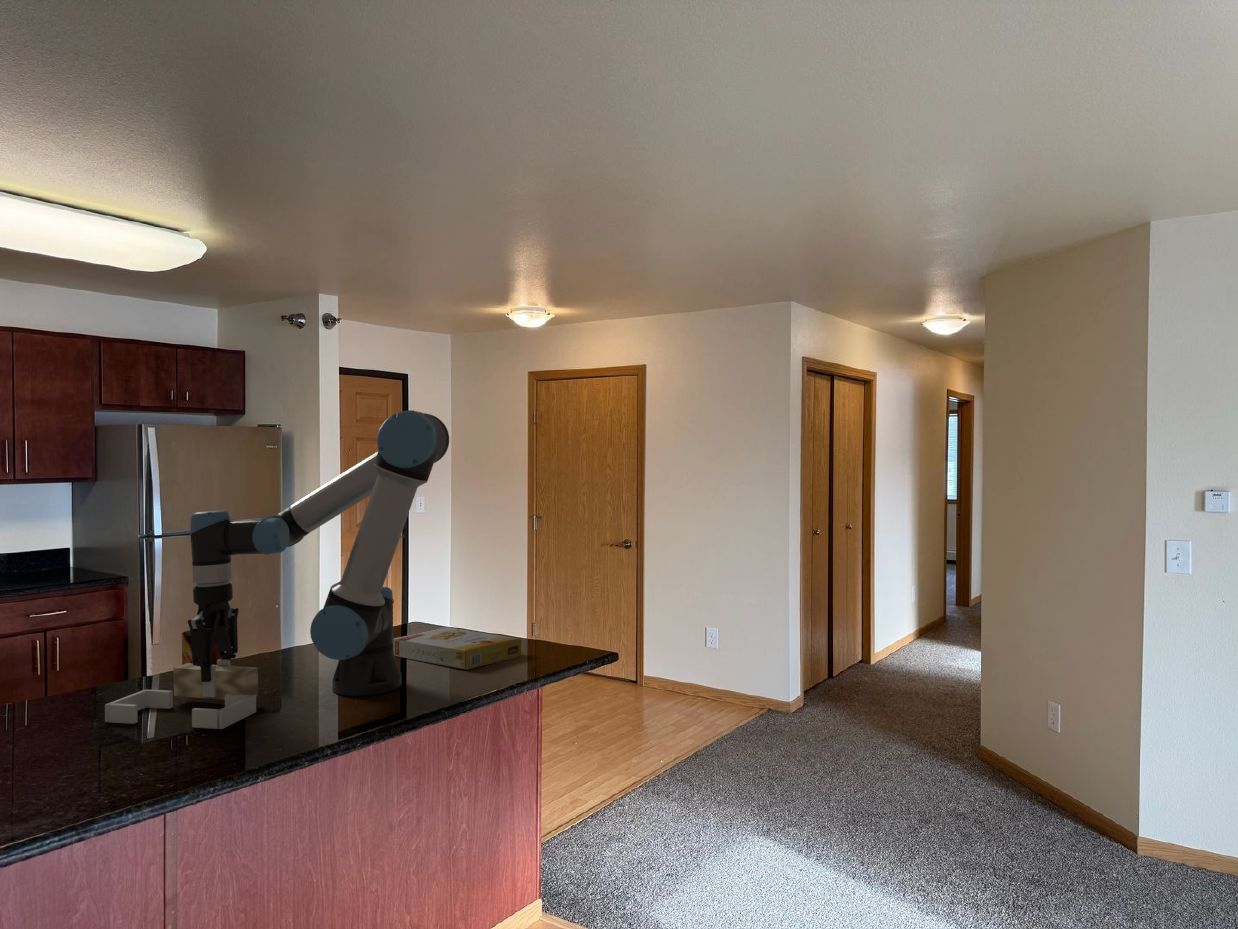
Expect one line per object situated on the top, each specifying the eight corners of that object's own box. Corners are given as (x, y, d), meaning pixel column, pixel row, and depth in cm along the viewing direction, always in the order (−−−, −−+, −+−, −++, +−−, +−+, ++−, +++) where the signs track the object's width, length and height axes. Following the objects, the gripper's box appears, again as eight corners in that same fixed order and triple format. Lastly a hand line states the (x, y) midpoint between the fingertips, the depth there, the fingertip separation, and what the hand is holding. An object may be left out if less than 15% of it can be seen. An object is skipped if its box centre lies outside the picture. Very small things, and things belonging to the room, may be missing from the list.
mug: (203, 693, 188) (203, 640, 188) (174, 683, 196) (173, 632, 196) (245, 684, 196) (244, 632, 196) (215, 675, 204) (214, 625, 204)
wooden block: (258, 695, 179) (257, 667, 179) (245, 701, 175) (244, 672, 175) (188, 690, 184) (187, 663, 184) (174, 695, 180) (173, 668, 180)
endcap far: (105, 722, 168) (104, 704, 168) (145, 705, 179) (145, 689, 179) (133, 723, 167) (133, 706, 167) (172, 707, 178) (172, 690, 178)
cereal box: (466, 650, 206) (391, 636, 222) (466, 672, 206) (390, 657, 222) (522, 636, 222) (448, 624, 239) (522, 657, 222) (448, 644, 238)
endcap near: (256, 712, 174) (256, 695, 174) (221, 729, 163) (221, 711, 163) (228, 710, 175) (227, 693, 175) (192, 727, 165) (191, 709, 165)
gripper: (222, 577, 188) (227, 681, 189) (168, 590, 171) (173, 705, 172) (253, 577, 187) (257, 682, 187) (201, 590, 170) (206, 705, 170)
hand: (217, 692), depth 179 cm, fingers closed on wooden block, 4 cm apart
